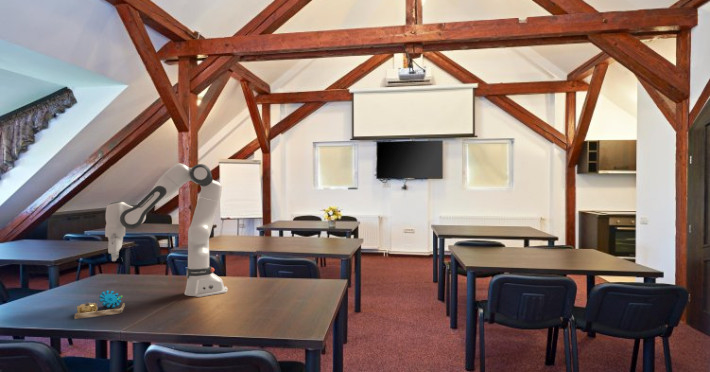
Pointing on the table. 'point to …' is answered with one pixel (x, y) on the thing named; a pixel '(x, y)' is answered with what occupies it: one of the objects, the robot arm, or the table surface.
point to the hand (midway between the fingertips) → (115, 259)
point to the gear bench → (100, 312)
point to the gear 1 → (87, 307)
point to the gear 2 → (110, 299)
